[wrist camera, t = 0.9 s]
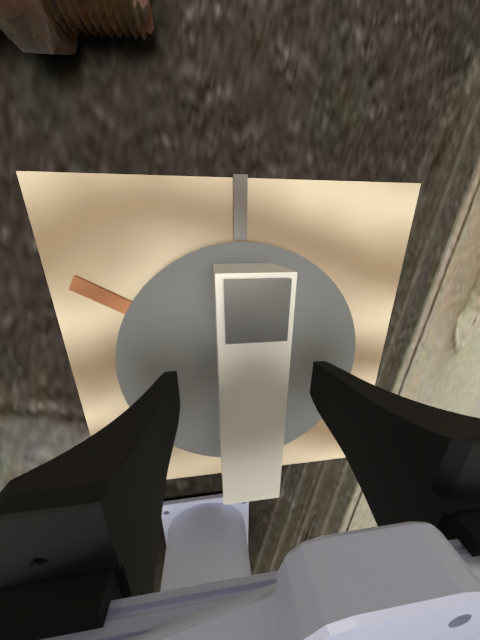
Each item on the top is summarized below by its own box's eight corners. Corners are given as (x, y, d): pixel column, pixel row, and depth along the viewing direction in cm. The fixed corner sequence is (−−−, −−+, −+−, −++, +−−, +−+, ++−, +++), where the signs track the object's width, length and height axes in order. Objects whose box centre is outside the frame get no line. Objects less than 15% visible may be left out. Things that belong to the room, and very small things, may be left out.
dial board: (345, 436, 21) (360, 458, 19) (115, 462, 19) (103, 490, 17) (393, 189, 14) (425, 180, 12) (45, 179, 12) (10, 166, 10)
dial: (331, 434, 18) (373, 501, 13) (140, 455, 16) (113, 540, 11) (363, 241, 13) (446, 242, 8) (99, 242, 11) (26, 244, 7)
